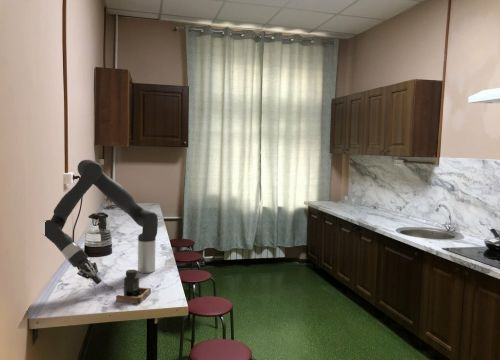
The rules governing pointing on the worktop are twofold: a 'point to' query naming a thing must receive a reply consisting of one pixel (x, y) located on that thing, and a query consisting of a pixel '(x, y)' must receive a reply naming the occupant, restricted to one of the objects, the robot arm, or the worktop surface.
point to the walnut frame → (131, 299)
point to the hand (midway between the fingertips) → (99, 282)
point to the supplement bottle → (131, 283)
